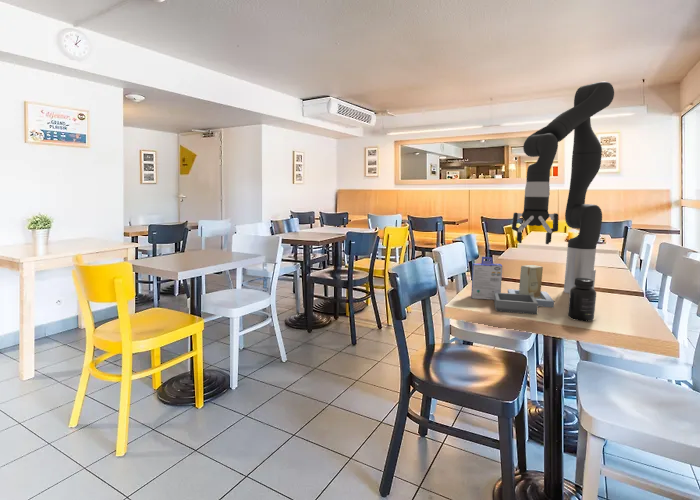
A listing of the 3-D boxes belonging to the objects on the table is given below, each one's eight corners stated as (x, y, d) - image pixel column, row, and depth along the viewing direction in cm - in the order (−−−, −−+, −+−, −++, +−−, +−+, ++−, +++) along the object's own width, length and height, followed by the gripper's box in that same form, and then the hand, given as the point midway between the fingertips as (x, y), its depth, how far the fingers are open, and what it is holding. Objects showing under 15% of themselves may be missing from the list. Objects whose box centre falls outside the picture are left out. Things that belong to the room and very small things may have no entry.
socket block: (546, 297, 148) (546, 291, 148) (553, 307, 134) (554, 301, 134) (507, 294, 151) (507, 289, 151) (511, 304, 138) (511, 298, 138)
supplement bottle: (562, 315, 126) (566, 276, 124) (584, 314, 127) (587, 276, 125) (577, 322, 119) (580, 281, 118) (599, 321, 120) (603, 281, 118)
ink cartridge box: (498, 296, 148) (501, 257, 146) (501, 300, 142) (503, 259, 140) (470, 295, 150) (472, 255, 148) (471, 298, 144) (473, 258, 142)
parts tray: (531, 305, 137) (532, 295, 136) (537, 314, 126) (538, 303, 126) (493, 302, 140) (494, 292, 140) (495, 311, 130) (496, 300, 129)
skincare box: (528, 303, 140) (530, 267, 138) (517, 300, 143) (520, 265, 142) (540, 301, 142) (543, 266, 141) (530, 298, 146) (532, 264, 145)
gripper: (557, 195, 140) (554, 243, 142) (513, 195, 144) (510, 241, 146) (562, 195, 132) (558, 245, 135) (515, 195, 136) (512, 243, 139)
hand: (533, 243), depth 140 cm, fingers open, 8 cm apart
